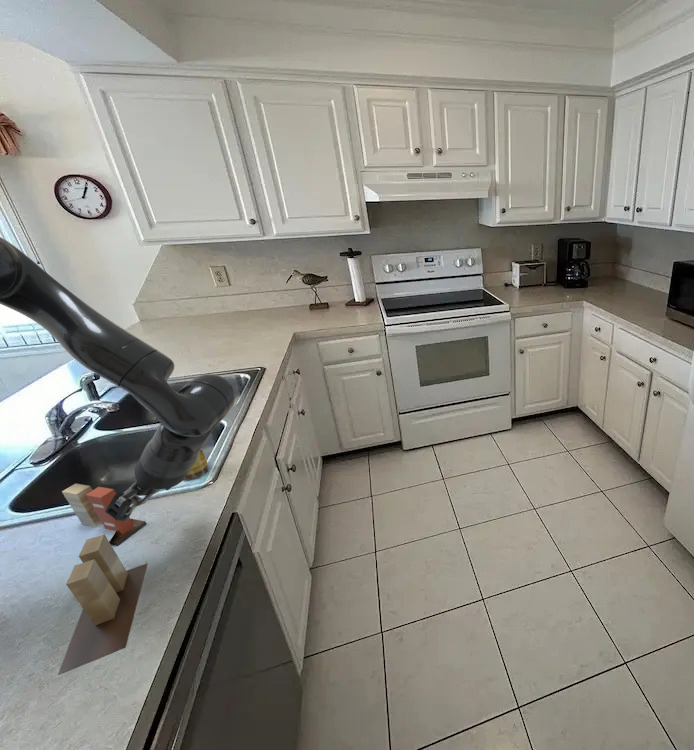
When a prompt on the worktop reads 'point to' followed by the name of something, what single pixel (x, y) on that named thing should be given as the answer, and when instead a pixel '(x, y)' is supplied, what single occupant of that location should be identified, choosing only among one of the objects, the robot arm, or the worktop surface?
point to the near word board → (106, 631)
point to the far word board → (88, 514)
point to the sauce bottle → (197, 467)
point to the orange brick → (100, 503)
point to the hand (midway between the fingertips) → (143, 501)
